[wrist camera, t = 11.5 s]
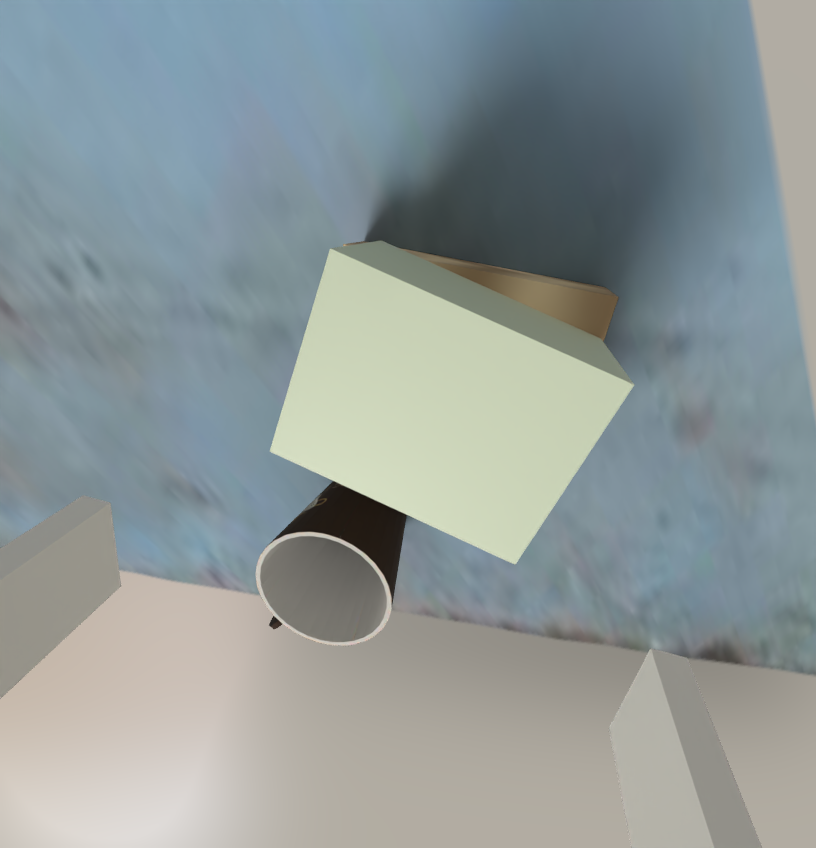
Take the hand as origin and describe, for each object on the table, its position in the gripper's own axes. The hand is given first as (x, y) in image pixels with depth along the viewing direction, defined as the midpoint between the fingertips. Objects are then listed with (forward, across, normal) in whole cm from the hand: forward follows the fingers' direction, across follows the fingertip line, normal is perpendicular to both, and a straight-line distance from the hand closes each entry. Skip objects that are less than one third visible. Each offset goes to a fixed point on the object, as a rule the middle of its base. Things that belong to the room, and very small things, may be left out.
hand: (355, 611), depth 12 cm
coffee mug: (+23, -6, -14) cm, 27 cm away
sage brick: (+19, 0, +1) cm, 19 cm away
